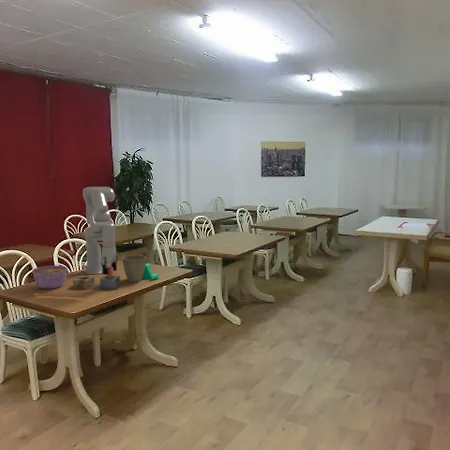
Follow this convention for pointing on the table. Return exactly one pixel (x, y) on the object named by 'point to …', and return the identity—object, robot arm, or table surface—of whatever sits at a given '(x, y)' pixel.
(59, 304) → the table surface
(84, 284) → the mount
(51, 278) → the bowl of food
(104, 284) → the socket
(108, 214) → the robot arm
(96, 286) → the board
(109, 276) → the pin
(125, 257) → the plant pot
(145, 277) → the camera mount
